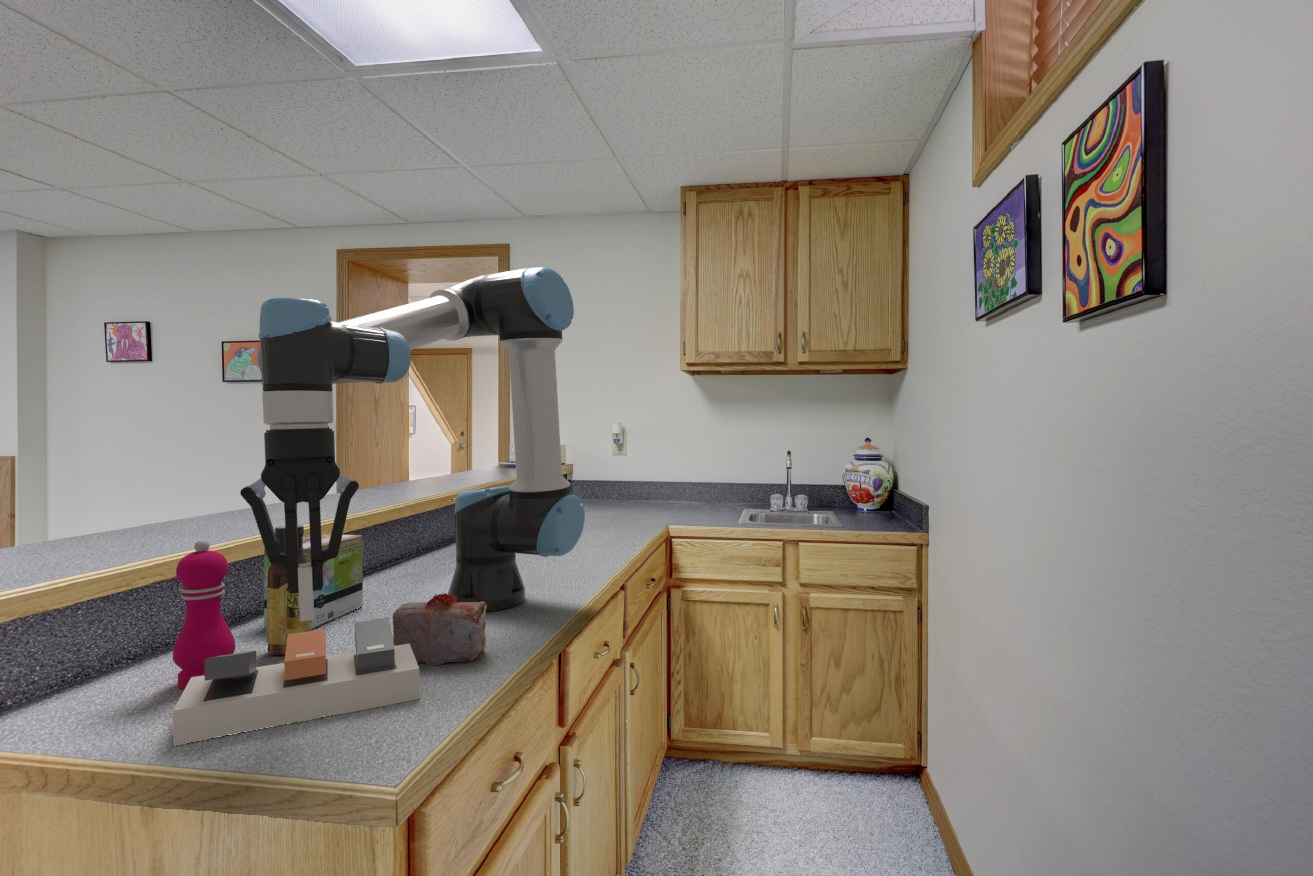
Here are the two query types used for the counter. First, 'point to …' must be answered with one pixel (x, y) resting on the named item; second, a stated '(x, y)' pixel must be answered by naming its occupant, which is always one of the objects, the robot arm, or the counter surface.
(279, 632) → the sauce bottle
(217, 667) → the block
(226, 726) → the rocker switch panel
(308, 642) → the rocker middle
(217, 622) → the pepper mill
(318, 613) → the tea box
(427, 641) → the food item
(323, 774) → the counter surface
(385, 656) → the rocker end
